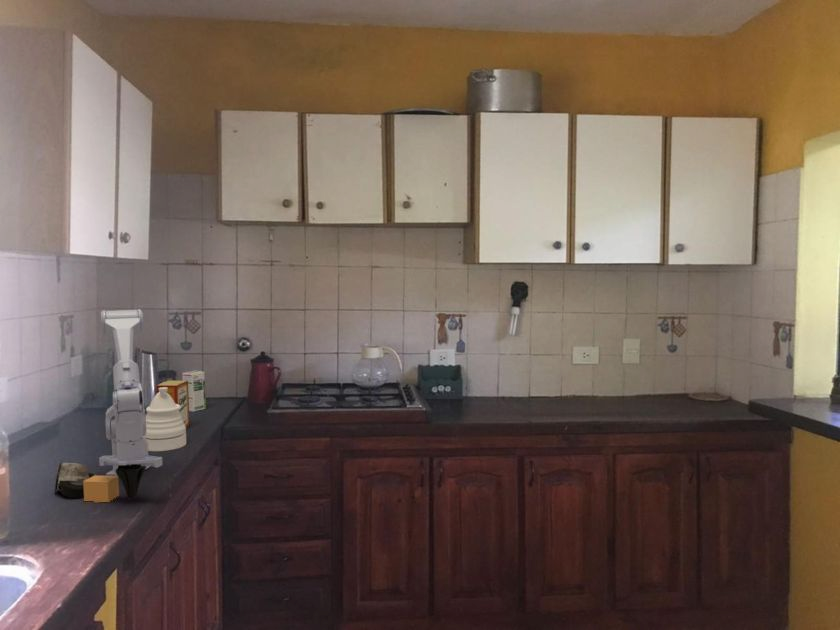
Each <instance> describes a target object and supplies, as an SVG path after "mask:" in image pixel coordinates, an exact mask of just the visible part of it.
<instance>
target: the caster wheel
mask: <svg viewBox="0 0 840 630" xmlns="http://www.w3.org/2000/svg"><path fill="white" fill-rule="evenodd" d="M62 460H63V458H62V457H61V458H60V460H59V463H58V466H57V469H56V473H55V475H54V480H55V483H54V484H55V486H54V494H56V493H57V490H58V491H59V492H60V493H61V494H62V495H63V496H66V497H68V498H71V499H72V498H73V499H79V498H78V497H84V486H83V481H85V480H87V479H89V478H91V477H93V476H94V475H95V474H94V473H91V472H89V469H88V467H87V466H86V464H84V463H79V462H63V461H62Z"/></svg>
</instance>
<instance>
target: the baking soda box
mask: <svg viewBox="0 0 840 630" xmlns="http://www.w3.org/2000/svg"><path fill="white" fill-rule="evenodd" d="M162 387H167V388H168V390H167V393H168V394H169V395H170V396H171V397H172V399H173V400H174V402H175V404H178V405H180V406H181V409H180V410H179V413H180V415H181V416H182V420H183V423H184V425H185V427H186V429H188V427H190V423H191V422H190V411H189V395H188V380H183V379H181V380H178V379H177V380H173V379H172V380H167V381H163V382H161V383H159V384H157V385H156V394H157V393H159V388H162Z"/></svg>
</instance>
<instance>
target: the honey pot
mask: <svg viewBox="0 0 840 630" xmlns="http://www.w3.org/2000/svg"><path fill="white" fill-rule="evenodd" d="M167 390H168V388H167V387H162V388H159V393H157V392H156V394H155V395H154V397H153V398H152V400H151V401H150V404H149V406H147V407H145V412H146V413H145V415H146V434H145V436H143V437H144V438H145V439H146V440H147V443H148V452H149V451H150V452H164V451H165V452H166V451H171V450H176V449H181V448H182V447H184V446H186V445H187V430H186V429H187V428H186V427H185V425H184V423H183V420H182V416H181V415H180V413H179V410H180V409H181V406H180V405H178V404H175V402H174V400H173V399H172V397H171V396H170V395H169V394H168V393H167Z"/></svg>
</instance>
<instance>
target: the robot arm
mask: <svg viewBox="0 0 840 630" xmlns="http://www.w3.org/2000/svg"><path fill="white" fill-rule="evenodd" d="M100 325H101V327H100V329H101V337H102V338H103V340H104V341H107V342H109V343H111V346H112V347H113V353H114V355H113V358H114V365H113V367H112V377H113V378H112V379H113V392H112V405H111V406H110V407H108V408H107V409H106V411H105V435H106V439H107V440H109V441H111V450H112V451H111V452H112V453H111V455H102V456H100V457H99V458H98V461H99V467H104V466H112V470H110V471H108V472H106V473H105V476H118V479H120V481H121V483H122V484H123V487H124V489H125V493H126V497H127V498H133V497H135V496H137V495H138V491H139V486H140V483H141V480H142V476H143V474H144V472H145V470H147V469H148V468H150V467H154V468H159V467H162V466H163V457H162V456H154V455H149V451H148V443H147V440H146V439H145V438H144V437H143V436H145V434H146V408H145V399H144V398H145V397H144V391H143V387H142V383H141V381H140V380H141V378H140V377H141V376H140V369H139V368H140V367H139V364H138V363H137V362H135V361H134V360H133V359H134V358H133V357H134V356H133V355H134V341H136V340H139V339H141V338H142V336H143V332H144V313H143V311H142V310H141V309H140V308H137V309H120V310H105V309H104V310H103V309H102V311H101V312H100Z"/></svg>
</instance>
